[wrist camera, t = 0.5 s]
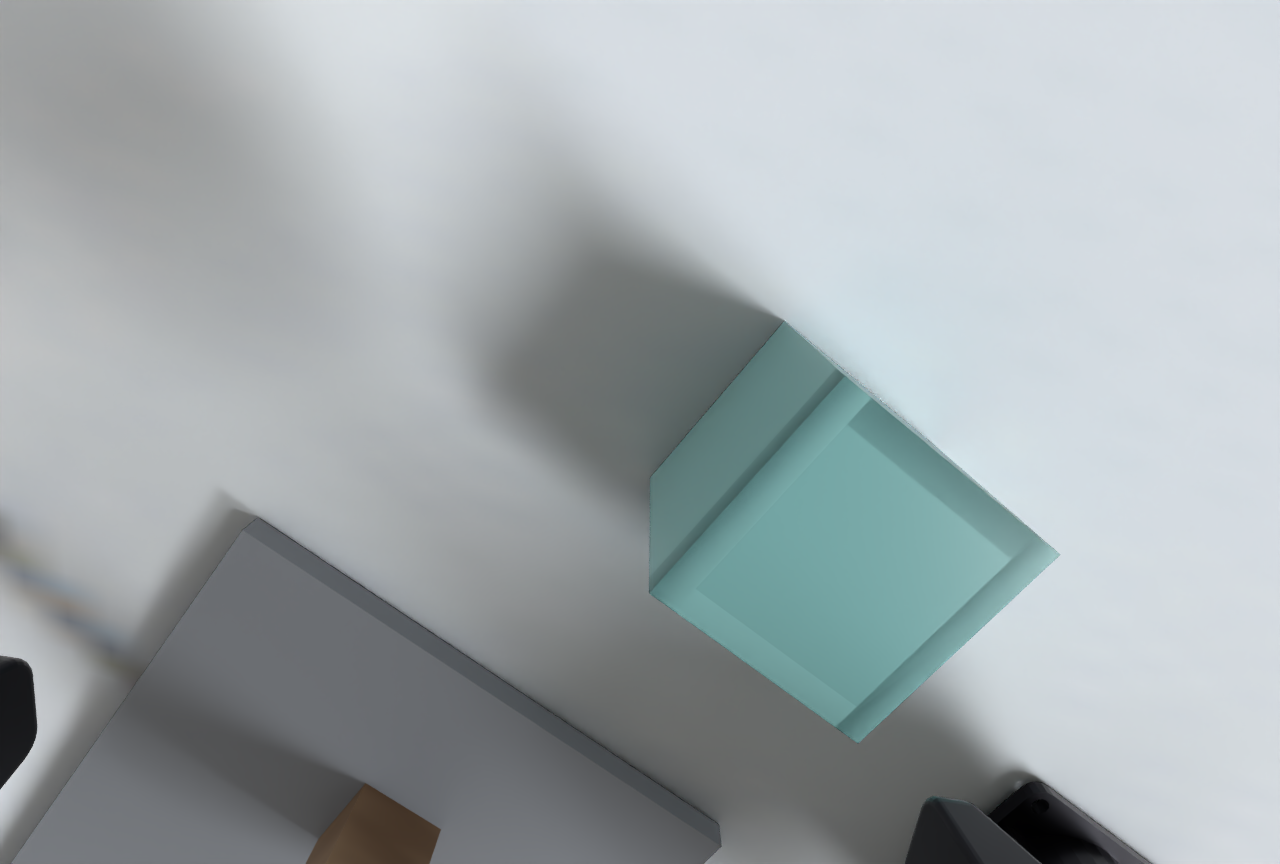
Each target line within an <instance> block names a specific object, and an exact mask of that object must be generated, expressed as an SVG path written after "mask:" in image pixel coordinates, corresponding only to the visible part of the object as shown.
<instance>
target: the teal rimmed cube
mask: <svg viewBox="0 0 1280 864" xmlns="http://www.w3.org/2000/svg"><path fill="white" fill-rule="evenodd" d="M1058 556H1060V554H1059V553H1058V552H1057V551H1056V550H1054V549H1053V548H1052V547H1051V546H1050V545H1049V544H1047V543H1046V542H1045V541H1044V540H1043V539H1042V538H1041V537H1039V536H1038V535H1037V534H1036V533H1035V532H1034V531H1033V530H1031V529H1030V528H1029V527H1028V526H1027V525H1026V524H1024V523H1023V522H1022V521H1021V520H1020V519H1019V518H1018V517H1016V516H1015V515H1014V514H1013V513H1012V512H1011V511H1009V510H1008V509H1007V508H1006V507H1005V506H1004V505H1003V504H1001V503H1000V502H999V501H998V500H997V499H996V498H995V497H993V496H992V495H991V494H990V493H989V492H988V491H986V490H985V489H984V488H983V487H982V486H981V485H980V484H978V483H977V482H976V481H975V480H974V479H973V478H972V477H970V476H969V475H968V474H967V473H966V472H965V471H963V470H962V469H961V468H960V467H959V466H958V465H957V464H955V463H954V462H953V461H952V460H951V459H950V458H949V457H947V456H946V455H945V454H944V453H943V452H942V451H940V450H939V449H938V448H937V447H936V446H935V445H933V444H932V443H931V442H930V441H929V440H927V439H926V438H925V437H924V436H923V435H921V434H920V433H919V432H918V431H917V430H915V429H914V428H913V427H912V426H911V425H909V424H908V423H907V422H906V421H905V420H903V419H902V418H901V417H900V416H898V415H897V414H896V413H895V412H894V411H892V410H891V409H890V408H889V407H888V406H886V405H885V404H884V403H883V402H882V401H880V400H879V399H878V398H877V397H876V396H874V395H873V394H872V393H871V392H870V391H868V390H867V389H866V388H865V387H864V386H862V385H861V384H860V383H859V382H858V381H856V380H855V379H854V378H853V377H852V376H850V375H849V374H848V373H847V372H846V371H844V370H843V369H842V368H841V367H840V366H838V365H837V364H836V363H835V362H834V361H832V360H831V359H830V358H829V357H828V356H826V355H825V354H824V353H823V352H822V351H820V350H819V349H818V348H817V347H816V346H814V345H813V344H812V343H811V342H810V341H808V340H807V339H806V338H805V337H804V336H802V335H801V334H800V333H799V332H798V331H796V330H795V329H794V328H793V327H792V326H790V325H789V324H788V323H787V322H786V321H784V322H783V323H782V324H781V326H780V327H779V328H778V329H777V330H776V331H775V333H774V334H773V335H772V336H771V337H770V338H769V340H768V341H767V342H766V343H765V344H764V345H763V347H762V348H761V349H760V350H759V351H758V352H757V354H756V355H755V356H754V357H753V358H752V359H751V361H750V362H749V363H748V364H747V365H746V366H745V368H744V369H743V370H742V371H741V372H740V373H739V375H738V376H737V377H736V378H735V379H734V380H733V382H732V383H731V384H730V385H729V386H728V387H727V389H726V390H725V391H724V392H723V393H722V394H721V396H720V397H719V398H718V399H717V400H716V401H715V403H714V404H713V405H712V406H711V407H710V408H709V410H708V411H707V412H706V413H705V414H704V415H703V417H702V418H701V419H700V420H699V421H698V422H697V424H696V425H695V426H694V427H693V428H692V429H691V431H690V432H689V433H688V434H687V435H686V436H685V438H684V439H683V440H682V441H681V442H680V443H679V445H678V446H677V447H676V448H675V449H674V450H673V452H672V453H671V454H670V455H669V456H668V457H667V459H666V460H665V461H664V462H663V463H662V464H661V466H660V467H659V468H658V469H657V470H656V471H655V473H654V474H653V475H652V476H651V477H650V554H649V594H651V595H652V596H654V597H655V598H656V599H658V600H659V601H661V602H662V603H663V604H665V605H666V606H668V607H669V608H670V609H672V610H673V611H674V612H676V613H677V614H679V615H680V616H681V617H683V618H684V619H686V620H687V621H688V622H690V623H691V624H693V625H694V626H695V627H697V628H698V629H699V630H701V631H702V632H704V633H705V634H706V635H708V636H709V637H711V638H712V639H713V640H715V641H716V642H718V643H719V644H720V645H722V646H723V647H724V648H726V649H727V650H729V651H730V652H731V653H733V654H734V655H736V656H737V657H738V658H740V659H741V660H742V661H744V662H745V663H747V664H748V665H749V666H751V667H752V668H754V669H755V670H756V671H758V672H759V673H761V674H762V675H763V676H765V677H766V678H767V679H769V680H770V681H772V682H773V683H774V684H776V685H777V686H779V687H780V688H781V689H783V690H784V691H786V692H787V693H788V694H790V695H791V696H792V697H794V698H795V699H797V700H798V701H799V702H801V703H802V704H804V705H805V706H806V707H808V708H809V709H811V710H812V711H813V712H815V713H816V714H817V715H819V716H820V717H822V718H823V719H824V720H826V721H827V722H829V723H830V724H831V725H833V726H834V727H836V728H837V729H838V730H840V731H841V732H842V733H844V734H845V735H847V736H848V737H849V738H851V739H852V740H854V741H855V742H856V743H859V742H860V741H861V740H863V739H864V738H865V737H866V736H867V735H868V734H869V733H870V732H871V731H872V730H873V729H874V728H875V727H876V726H878V725H879V724H880V723H881V722H882V721H883V720H884V719H885V718H886V717H887V716H888V715H889V714H890V713H891V712H893V711H894V710H895V709H896V708H897V707H898V706H899V705H900V704H901V703H902V702H903V701H904V700H905V699H906V698H908V697H909V696H910V695H911V694H912V693H913V692H914V691H915V690H916V689H917V688H918V687H919V686H920V685H921V684H923V683H924V682H925V681H926V680H927V679H928V678H929V677H930V676H931V675H932V674H933V673H934V672H935V671H936V670H937V669H939V668H940V667H941V666H942V665H943V664H944V663H945V662H946V661H947V660H948V659H949V658H950V657H951V656H952V655H954V654H955V653H956V652H957V651H958V650H959V649H960V648H961V647H962V646H963V645H964V644H965V643H966V642H967V641H969V640H970V639H971V638H972V637H973V636H974V635H975V634H976V633H977V632H978V631H979V630H980V629H981V628H982V627H984V626H985V625H986V624H987V623H988V622H989V621H990V620H991V619H992V618H993V617H994V616H995V615H996V614H997V613H999V612H1000V611H1001V610H1002V609H1003V608H1004V607H1005V606H1006V605H1007V604H1008V603H1009V602H1010V601H1011V600H1012V599H1014V598H1015V597H1016V596H1017V595H1018V594H1019V593H1020V592H1021V591H1022V590H1023V589H1024V588H1025V587H1026V586H1027V585H1029V584H1030V583H1031V582H1032V581H1033V580H1034V579H1035V578H1036V577H1037V576H1038V575H1039V574H1040V573H1041V572H1042V571H1043V570H1045V569H1046V568H1047V567H1048V566H1049V565H1050V564H1051V563H1052V562H1053V561H1054V560H1055V559H1056V558H1057V557H1058Z"/></svg>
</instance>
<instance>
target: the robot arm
mask: <svg viewBox="0 0 1280 864" xmlns="http://www.w3.org/2000/svg"><path fill="white" fill-rule="evenodd" d="M36 734H37V717H36V706H35V694H34V682H33V673H32V669H31V667H30V666H29V664H28V663H27V662H26V661H24V660H22V659H19V658H13V657H7V656H0V789H1V788H2V787H3V785H4V784H5V783H6V782H7V780H8V779H9V778H10V777H11V775H12V774H13V773H14V772H15V770H16V769H17V768H18V767H19V765H20V764H21V763H22V762H23V760H24V759H25V758H26V756H27V755H28V753H29V752H30V750H31V748H32V746H33V744H34V741H35V738H36ZM1039 799H1040V801H1038V802H1036V803H1033V802H1034V801H1036V800H1039ZM905 864H1151V863H1149V862H1148V861H1147V860H1145V859H1144V858H1143V857H1141V856H1140V855H1139V854H1137V853H1136V852H1135V851H1133V850H1132V849H1131V848H1129V847H1128V846H1127V845H1125V844H1124V843H1123V842H1121V841H1120V840H1119V839H1117V838H1116V837H1115V836H1113V835H1112V834H1111V833H1109V832H1108V831H1107V830H1105V829H1104V828H1103V827H1101V826H1100V825H1099V824H1097V823H1096V822H1095V821H1093V820H1092V819H1091V818H1089V817H1088V816H1087V815H1085V814H1084V813H1083V812H1081V811H1080V810H1079V809H1077V808H1076V807H1075V806H1073V805H1072V804H1071V803H1070V802H1068V801H1067V800H1066V799H1064V798H1063V797H1062V796H1060V795H1059V794H1058V793H1056V792H1055V791H1054V790H1052V789H1051V788H1050V787H1048V786H1047V785H1045V784H1043V783H1041V782H1032V783H1027V784H1026V785H1024V786H1022V787H1021V788H1020V789H1019V790H1017V791H1016V792H1015V793H1014V794H1013V795H1012V796H1010V797H1009V798H1008V799H1007V800H1006V801H1004V802H1003V803H1002V804H1001V805H1000V806H999V807H997V808H996V809H995V810H994V811H993V812H992V813H990V814H989V815H988V816H986V815H985V814H984V813H983V812H982V811H981V810H979V809H978V808H977V807H976V806H975V805H973V804H972V803H970V802H967V801H964V800H957V799H950V798H944V797H937V796H933V797H930V798H928V799H927V800H926V801H925V802H924V804H923V806H922V808H921V811H920V814H919V818H918V821H917V824H916V828H915V831H914V834H913V837H912V841H911V844H910V847H909V851H908V854H907V857H906V861H905Z"/></svg>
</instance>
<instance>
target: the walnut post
mask: <svg viewBox="0 0 1280 864" xmlns="http://www.w3.org/2000/svg"><path fill="white" fill-rule="evenodd" d="M440 831H441V829H440V828H438V827H436V826H435V825H433V824H432V823H430V822H428V821H427V820H425V819H423V818H422V817H420V816H418V815H417V814H415V813H414V812H412V811H410V810H409V809H407V808H405V807H404V806H402V805H401V804H399V803H397V802H396V801H394V800H392V799H391V798H389V797H388V796H386V795H384V794H383V793H381V792H379V791H378V790H376V789H375V788H373V787H371V786H370V785H368V784H366V783H365V784H364V786H363V787H362V788H361V789H360V790H359V791H358V793H357V794H356V795H355V796H354V797H353V799H352V800H351V801H350V802H349V803H348V805H347V806H346V807H345V808H344V809H343V810H342V812H341V813H340V814H339V815H338V816H337V818H336V819H335V820H334V821H333V822H332V823H331V825H330V826H329V827H328V828H327V829H326V831H325V832H324V833H323V834H322V835H321V836H320V838H319V839H318V841H317V842H316V844H315V846H314V848H313V850H312V852H311V854H310V856H309V858H308V860H307V862H306V863H305V864H430V861H431V858H432V855H433V852H434V849H435V846H436V843H437V840H438V837H439V834H440Z"/></svg>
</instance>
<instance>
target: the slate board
mask: <svg viewBox="0 0 1280 864" xmlns="http://www.w3.org/2000/svg"><path fill="white" fill-rule="evenodd" d="M365 783H366V784H368V785H370V786H371V787H373V788H375V789H376V790H378V791H379V792H381V793H383V794H384V795H386V796H388V797H389V798H391V799H392V800H394V801H396V802H397V803H399V804H401V805H402V806H404V807H405V808H407V809H409V810H410V811H412V812H414V813H415V814H417V815H418V816H420V817H422V818H423V819H425V820H427V821H428V822H430V823H432V824H433V825H435V826H436V827H438V828H440V829H441V831H440V834H439V837H438V840H437V843H436V846H435V849H434V852H433V855H432V858H431V861H430V864H704V863H705V862H706V861H707V860H708V859H709V858H710V857H711V856H712V855H713V854H714V853H715V852H716V851H717V850H718V849H719V848H720V847H722V846H721V837H720V828H719V824H717V823H716V822H714V821H713V820H711V819H710V818H708V817H707V816H705V815H704V814H702V813H701V812H699V811H698V810H696V809H695V808H693V807H692V806H690V805H689V804H687V803H686V802H684V801H683V800H681V799H680V798H678V797H677V796H675V795H674V794H672V793H671V792H669V791H668V790H666V789H665V788H663V787H662V786H660V785H659V784H657V783H656V782H654V781H653V780H651V779H650V778H648V777H647V776H645V775H644V774H642V773H641V772H639V771H638V770H636V769H635V768H633V767H632V766H630V765H629V764H627V763H626V762H624V761H623V760H621V759H620V758H618V757H617V756H615V755H614V754H612V753H611V752H609V751H608V750H606V749H605V748H603V747H602V746H600V745H599V744H597V743H596V742H594V741H593V740H591V739H590V738H588V737H587V736H585V735H584V734H582V733H581V732H579V731H578V730H576V729H575V728H573V727H572V726H570V725H569V724H567V723H566V722H564V721H563V720H561V719H560V718H558V717H557V716H555V715H554V714H552V713H551V712H549V711H548V710H546V709H545V708H543V707H542V706H540V705H539V704H537V703H536V702H534V701H533V700H531V699H530V698H528V697H527V696H525V695H524V694H522V693H521V692H519V691H518V690H516V689H515V688H513V687H512V686H510V685H509V684H507V683H506V682H504V681H503V680H501V679H500V678H498V677H497V676H495V675H494V674H492V673H491V672H489V671H488V670H486V669H485V668H483V667H482V666H480V665H479V664H477V663H476V662H474V661H473V660H471V659H470V658H468V657H467V656H465V655H464V654H462V653H461V652H459V651H458V650H456V649H455V648H453V647H452V646H450V645H449V644H447V643H446V642H444V641H443V640H441V639H440V638H438V637H437V636H435V635H434V634H432V633H431V632H429V631H428V630H426V629H425V628H423V627H422V626H420V625H419V624H417V623H416V622H414V621H413V620H411V619H410V618H408V617H407V616H405V615H404V614H402V613H401V612H399V611H398V610H396V609H395V608H393V607H392V606H390V605H389V604H387V603H386V602H384V601H383V600H381V599H380V598H378V597H377V596H375V595H374V594H372V593H371V592H369V591H368V590H366V589H365V588H363V587H362V586H360V585H359V584H357V583H356V582H354V581H353V580H351V579H350V578H348V577H347V576H345V575H344V574H342V573H341V572H339V571H338V570H336V569H335V568H333V567H332V566H330V565H329V564H327V563H326V562H324V561H323V560H321V559H320V558H318V557H317V556H315V555H314V554H312V553H311V552H309V551H308V550H306V549H305V548H303V547H302V546H300V545H299V544H297V543H296V542H294V541H293V540H291V539H290V538H288V537H287V536H285V535H284V534H282V533H281V532H279V531H278V530H276V529H275V528H273V527H272V526H270V525H269V524H267V523H266V522H264V521H263V520H261V519H260V518H257V519H256V520H254V521H253V522H252V523H251V524H249V525H248V526H247V527H246V528H244V529H243V530H242V531H241V533H240V534H239V536H238V537H237V539H236V540H235V541H234V543H233V544H232V546H231V547H230V549H229V550H228V552H227V553H226V554H225V556H224V557H223V559H222V560H221V562H220V563H219V564H218V566H217V567H216V569H215V570H214V572H213V573H212V575H211V576H210V577H209V579H208V580H207V582H206V583H205V585H204V586H203V587H202V589H201V590H200V592H199V593H198V595H197V596H196V598H195V599H194V600H193V602H192V603H191V605H190V606H189V608H188V609H187V611H186V612H185V613H184V615H183V616H182V618H181V619H180V621H179V622H178V623H177V625H176V626H175V628H174V629H173V631H172V632H171V634H170V635H169V636H168V638H167V639H166V641H165V642H164V644H163V645H162V647H161V648H160V649H159V651H158V652H157V654H156V655H155V657H154V658H153V659H152V661H151V662H150V664H149V665H148V667H147V668H146V670H145V671H144V672H143V674H142V675H141V677H140V678H139V680H138V681H137V683H136V684H135V685H134V687H133V688H132V690H131V691H130V693H129V694H128V695H127V697H126V698H125V700H124V701H123V703H122V704H121V706H120V707H119V708H118V710H117V711H116V713H115V714H114V716H113V717H112V719H111V720H110V721H109V723H108V724H107V726H106V727H105V729H104V730H103V731H102V733H101V734H100V736H99V737H98V739H97V740H96V742H95V743H94V744H93V746H92V747H91V749H90V750H89V752H88V753H87V755H86V756H85V757H84V759H83V760H82V762H81V763H80V765H79V766H78V767H77V769H76V770H75V772H74V773H73V775H72V776H71V778H70V779H69V780H68V782H67V783H66V785H65V786H64V788H63V789H62V790H61V792H60V793H59V795H58V796H57V798H56V799H55V801H54V802H53V803H52V805H51V806H50V808H49V809H48V811H47V812H46V814H45V815H44V816H43V818H42V819H41V821H40V822H39V824H38V825H37V826H36V828H35V829H34V831H33V832H32V834H31V835H30V837H29V838H28V839H27V841H26V842H25V844H24V845H23V847H22V848H21V850H20V851H19V852H18V854H17V855H16V857H15V858H14V860H13V861H12V862H11V864H305V863H306V862H307V860H308V858H309V856H310V854H311V852H312V850H313V848H314V846H315V844H316V842H317V841H318V839H319V838H320V836H321V835H322V834H323V833H324V832H325V831H326V829H327V828H328V827H329V826H330V825H331V823H332V822H333V821H334V820H335V819H336V818H337V816H338V815H339V814H340V813H341V812H342V810H343V809H344V808H345V807H346V806H347V805H348V803H349V802H350V801H351V800H352V799H353V797H354V796H355V795H356V794H357V793H358V791H359V790H360V789H361V788H362V787H363V786H364V784H365Z"/></svg>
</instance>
